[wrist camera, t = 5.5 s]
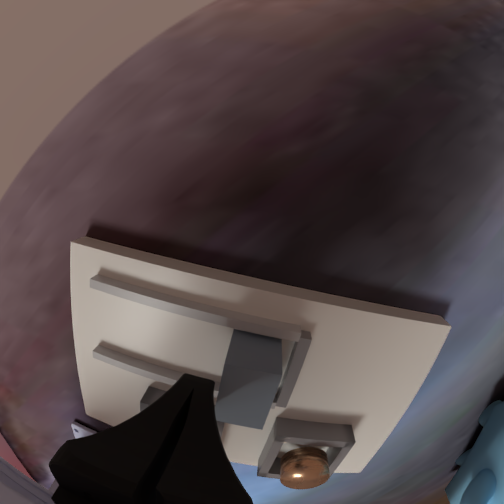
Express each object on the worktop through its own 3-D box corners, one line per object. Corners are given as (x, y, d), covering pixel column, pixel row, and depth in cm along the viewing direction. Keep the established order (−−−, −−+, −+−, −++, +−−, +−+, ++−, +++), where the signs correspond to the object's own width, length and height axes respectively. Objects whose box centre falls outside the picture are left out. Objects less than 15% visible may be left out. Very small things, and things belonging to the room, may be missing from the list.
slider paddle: (264, 391, 15) (262, 429, 12) (222, 382, 15) (212, 419, 12) (281, 339, 14) (282, 375, 11) (233, 328, 14) (224, 363, 11)
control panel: (356, 459, 19) (362, 487, 16) (94, 403, 19) (77, 426, 16) (440, 315, 15) (464, 339, 12) (85, 236, 16) (53, 248, 13)
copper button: (317, 472, 16) (319, 490, 14) (275, 468, 16) (274, 487, 14) (334, 448, 15) (337, 467, 13) (288, 444, 15) (288, 464, 13)
